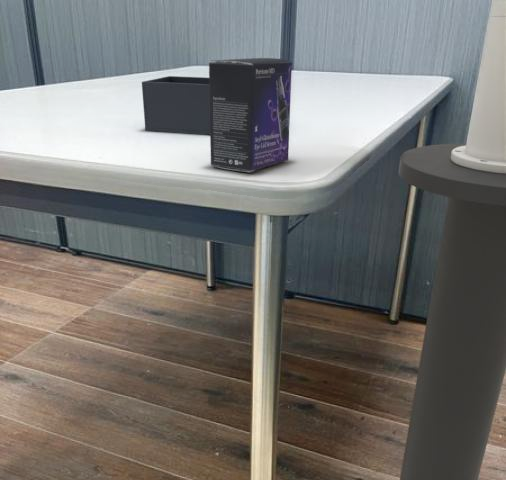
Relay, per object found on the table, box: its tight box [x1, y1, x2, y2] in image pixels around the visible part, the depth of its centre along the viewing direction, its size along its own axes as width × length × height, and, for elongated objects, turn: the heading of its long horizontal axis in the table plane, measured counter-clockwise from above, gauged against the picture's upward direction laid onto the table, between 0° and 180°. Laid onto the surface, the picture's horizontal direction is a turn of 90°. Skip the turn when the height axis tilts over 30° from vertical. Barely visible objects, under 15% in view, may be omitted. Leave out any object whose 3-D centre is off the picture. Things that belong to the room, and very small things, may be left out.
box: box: [208, 57, 293, 174], centre depth 64 cm, size 8×6×11 cm
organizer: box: [141, 75, 210, 136], centre depth 86 cm, size 11×9×6 cm
